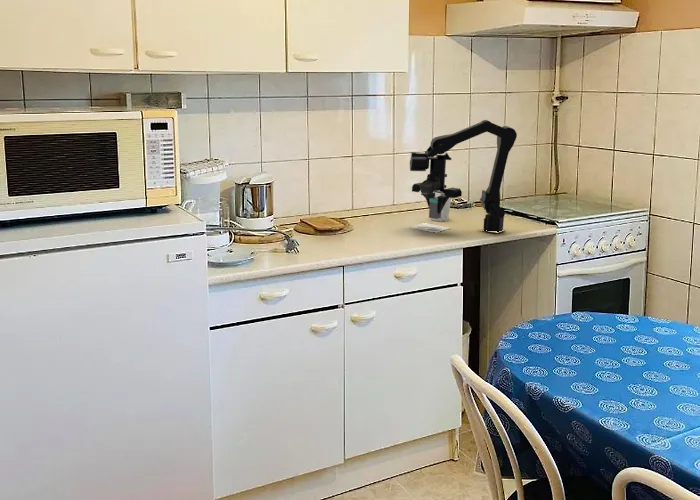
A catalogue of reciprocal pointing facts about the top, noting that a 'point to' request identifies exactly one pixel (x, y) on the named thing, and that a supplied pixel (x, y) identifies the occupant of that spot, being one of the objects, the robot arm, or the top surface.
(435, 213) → the cylinder
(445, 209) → the white cup
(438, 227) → the paper
